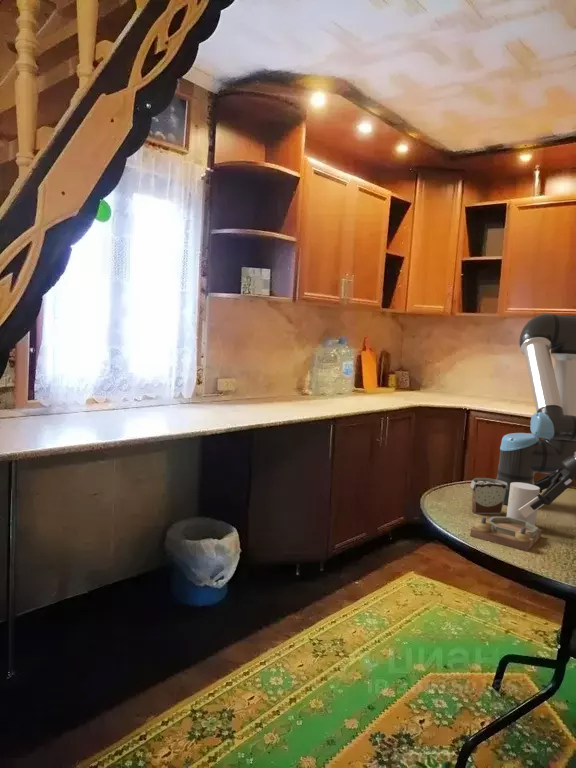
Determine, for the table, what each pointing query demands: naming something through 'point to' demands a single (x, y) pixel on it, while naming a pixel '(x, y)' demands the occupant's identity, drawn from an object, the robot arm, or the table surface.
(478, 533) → the gear board
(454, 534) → the table surface
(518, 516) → the tall round pillar
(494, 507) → the food container
